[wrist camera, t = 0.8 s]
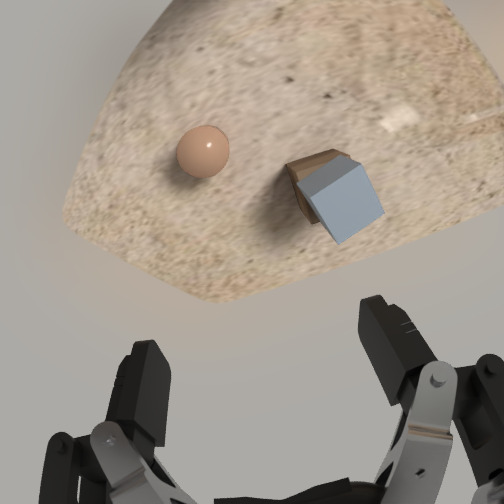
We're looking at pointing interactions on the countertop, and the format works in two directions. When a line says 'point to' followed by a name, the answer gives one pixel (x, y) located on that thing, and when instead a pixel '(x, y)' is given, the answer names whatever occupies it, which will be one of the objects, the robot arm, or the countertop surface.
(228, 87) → the countertop surface
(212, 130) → the tan rounded cylinder
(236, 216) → the countertop surface
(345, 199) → the tower top
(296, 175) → the tower base
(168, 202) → the countertop surface
